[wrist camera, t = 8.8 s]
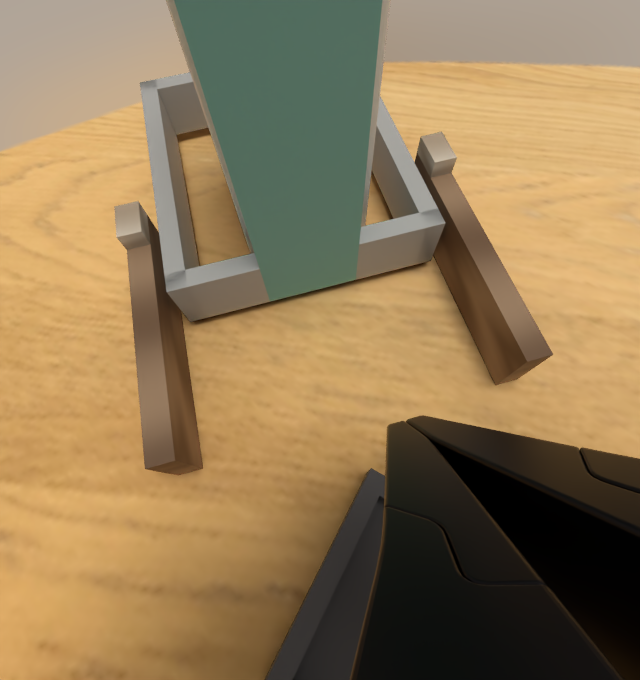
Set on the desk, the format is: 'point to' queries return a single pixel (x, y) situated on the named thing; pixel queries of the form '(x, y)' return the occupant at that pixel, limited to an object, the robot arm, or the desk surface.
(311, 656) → the tray
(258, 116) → the tray
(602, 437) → the desk surface
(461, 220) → the channel
